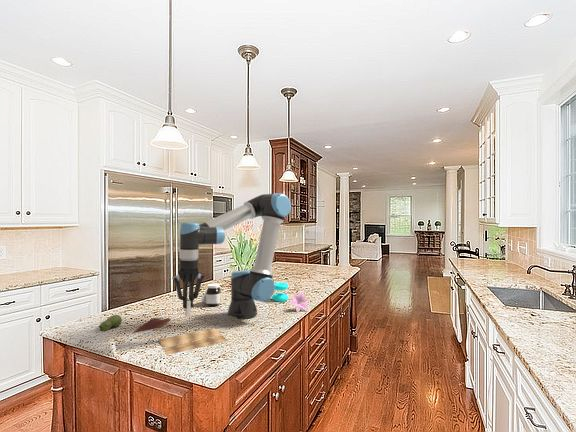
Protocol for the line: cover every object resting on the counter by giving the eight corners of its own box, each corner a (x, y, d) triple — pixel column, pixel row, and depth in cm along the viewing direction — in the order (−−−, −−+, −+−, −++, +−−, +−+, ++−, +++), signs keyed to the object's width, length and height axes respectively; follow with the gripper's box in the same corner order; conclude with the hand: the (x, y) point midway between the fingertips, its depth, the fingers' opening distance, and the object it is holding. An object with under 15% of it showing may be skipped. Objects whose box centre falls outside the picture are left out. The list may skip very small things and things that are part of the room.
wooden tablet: (152, 320, 162) (152, 316, 162) (171, 320, 162) (171, 317, 162) (121, 341, 136) (121, 337, 136) (144, 341, 135) (144, 337, 135)
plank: (162, 350, 125) (162, 347, 125) (158, 342, 132) (158, 339, 132) (221, 337, 138) (221, 334, 138) (214, 330, 145) (214, 327, 145)
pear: (123, 313, 153) (103, 323, 144) (125, 324, 153) (105, 334, 145) (115, 312, 155) (95, 321, 146) (117, 322, 156) (97, 332, 147)
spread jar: (218, 307, 183) (218, 286, 183) (198, 307, 183) (198, 286, 183) (222, 301, 195) (222, 282, 195) (204, 301, 195) (204, 282, 195)
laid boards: (222, 338, 138) (222, 335, 138) (228, 343, 132) (228, 340, 132) (162, 351, 125) (162, 347, 125) (167, 357, 119) (167, 354, 119)
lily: (285, 313, 175) (290, 300, 171) (286, 300, 186) (292, 287, 182) (306, 320, 175) (311, 307, 172) (306, 306, 186) (312, 293, 182)
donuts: (286, 281, 205) (290, 285, 195) (286, 297, 205) (290, 301, 195) (270, 282, 202) (273, 285, 193) (270, 298, 203) (273, 302, 193)
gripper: (201, 257, 142) (200, 311, 142) (170, 259, 135) (169, 315, 135) (207, 259, 136) (205, 315, 136) (175, 261, 129) (173, 320, 128)
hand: (187, 315), depth 135 cm, fingers closed
